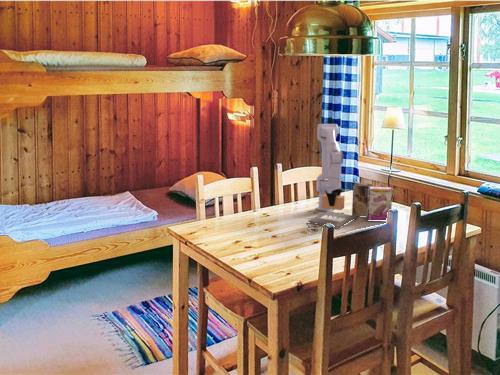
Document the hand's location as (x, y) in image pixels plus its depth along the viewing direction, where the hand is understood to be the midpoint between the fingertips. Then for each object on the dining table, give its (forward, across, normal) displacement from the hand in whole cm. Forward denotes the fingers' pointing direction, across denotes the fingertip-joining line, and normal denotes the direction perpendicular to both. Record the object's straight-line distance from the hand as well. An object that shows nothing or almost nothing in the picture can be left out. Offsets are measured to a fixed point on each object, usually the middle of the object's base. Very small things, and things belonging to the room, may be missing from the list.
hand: (333, 204), depth 272 cm
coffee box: (+8, -15, +10) cm, 20 cm away
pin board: (+8, 0, 0) cm, 8 cm away
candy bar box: (+8, -11, +19) cm, 24 cm away
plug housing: (+2, 0, 0) cm, 2 cm away
